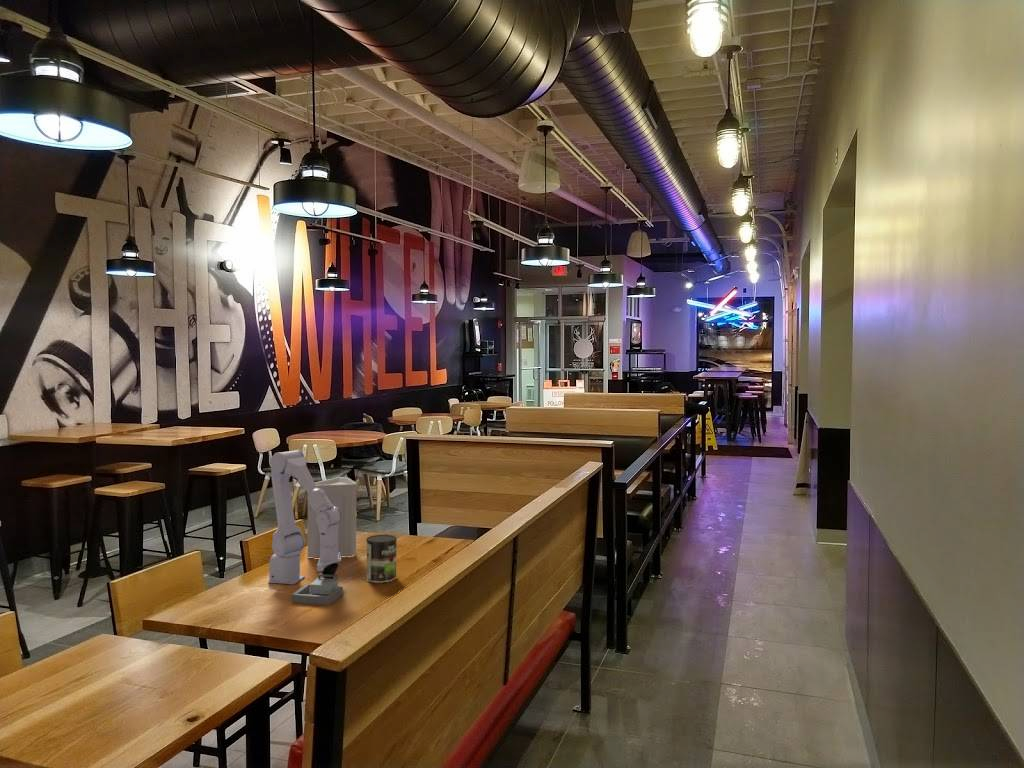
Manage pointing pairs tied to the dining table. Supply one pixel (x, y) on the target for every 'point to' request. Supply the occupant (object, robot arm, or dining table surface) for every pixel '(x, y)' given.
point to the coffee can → (381, 558)
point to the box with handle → (324, 584)
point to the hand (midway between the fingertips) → (329, 586)
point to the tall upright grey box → (344, 498)
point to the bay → (315, 596)
